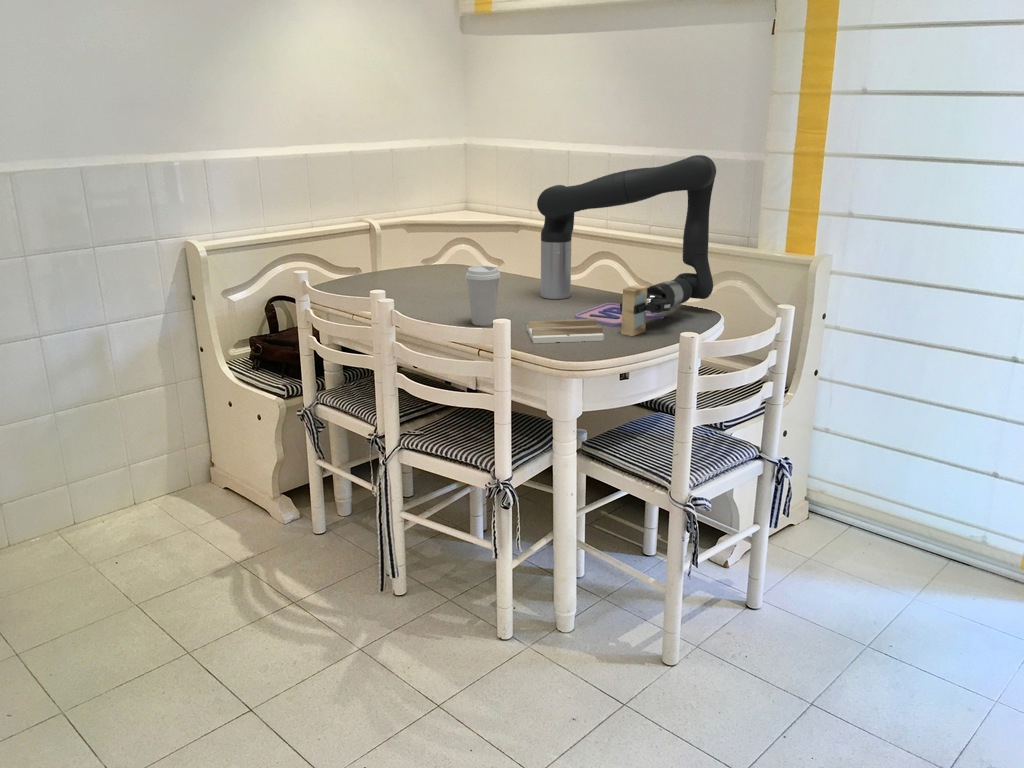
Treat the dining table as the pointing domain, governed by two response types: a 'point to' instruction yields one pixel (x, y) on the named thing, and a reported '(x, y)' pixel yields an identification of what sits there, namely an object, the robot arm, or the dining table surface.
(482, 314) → the coffee cup
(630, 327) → the wooden block
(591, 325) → the ledge
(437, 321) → the dining table surface
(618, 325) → the icon
